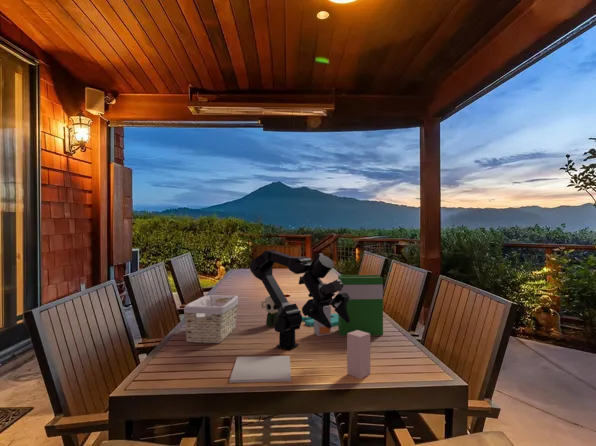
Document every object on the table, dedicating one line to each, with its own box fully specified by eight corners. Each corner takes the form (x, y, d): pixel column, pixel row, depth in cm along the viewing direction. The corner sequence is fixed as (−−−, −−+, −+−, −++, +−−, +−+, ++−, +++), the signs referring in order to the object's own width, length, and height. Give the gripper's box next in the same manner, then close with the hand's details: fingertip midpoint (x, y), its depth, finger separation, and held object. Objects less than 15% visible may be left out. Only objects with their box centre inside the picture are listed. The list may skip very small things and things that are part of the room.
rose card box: (347, 373, 110) (347, 333, 110) (357, 369, 113) (357, 329, 113) (360, 378, 106) (360, 337, 106) (370, 374, 109) (370, 333, 109)
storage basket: (205, 326, 161) (205, 294, 161) (239, 327, 159) (239, 294, 159) (182, 344, 137) (182, 306, 137) (222, 345, 136) (222, 307, 136)
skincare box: (318, 336, 146) (318, 307, 146) (313, 333, 150) (313, 305, 150) (331, 334, 148) (331, 306, 148) (326, 331, 152) (326, 303, 152)
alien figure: (292, 321, 170) (322, 330, 155) (292, 317, 170) (322, 325, 155) (321, 314, 183) (351, 322, 168) (321, 310, 183) (351, 317, 168)
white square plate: (237, 359, 122) (237, 356, 122) (289, 358, 122) (289, 355, 122) (229, 382, 104) (229, 379, 104) (291, 381, 104) (291, 378, 104)
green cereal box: (378, 329, 155) (378, 274, 155) (383, 335, 148) (382, 277, 148) (338, 330, 155) (338, 275, 155) (340, 335, 147) (340, 277, 147)
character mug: (259, 327, 158) (259, 298, 158) (262, 323, 165) (262, 295, 165) (284, 328, 158) (284, 299, 158) (285, 323, 165) (285, 295, 165)
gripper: (307, 274, 113) (334, 316, 104) (345, 269, 125) (371, 305, 117) (291, 295, 118) (315, 336, 110) (329, 288, 131) (352, 324, 123)
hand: (339, 325), depth 115 cm, fingers open, 9 cm apart
